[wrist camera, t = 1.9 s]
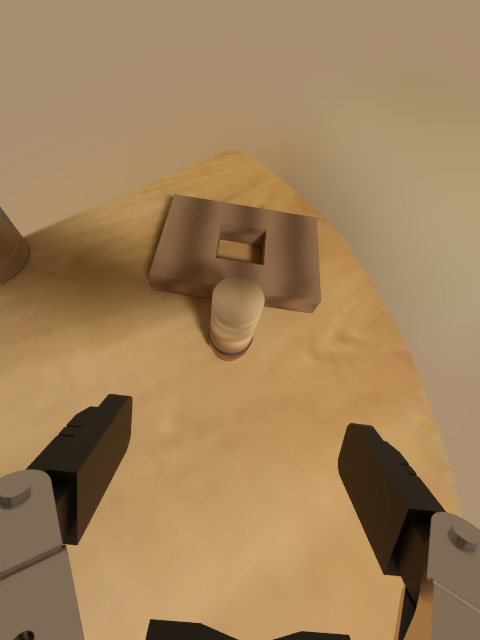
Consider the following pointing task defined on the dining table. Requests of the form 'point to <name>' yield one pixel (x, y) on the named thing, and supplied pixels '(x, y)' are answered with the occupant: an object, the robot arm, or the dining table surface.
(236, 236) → the board
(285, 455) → the dining table surface
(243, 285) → the peg
